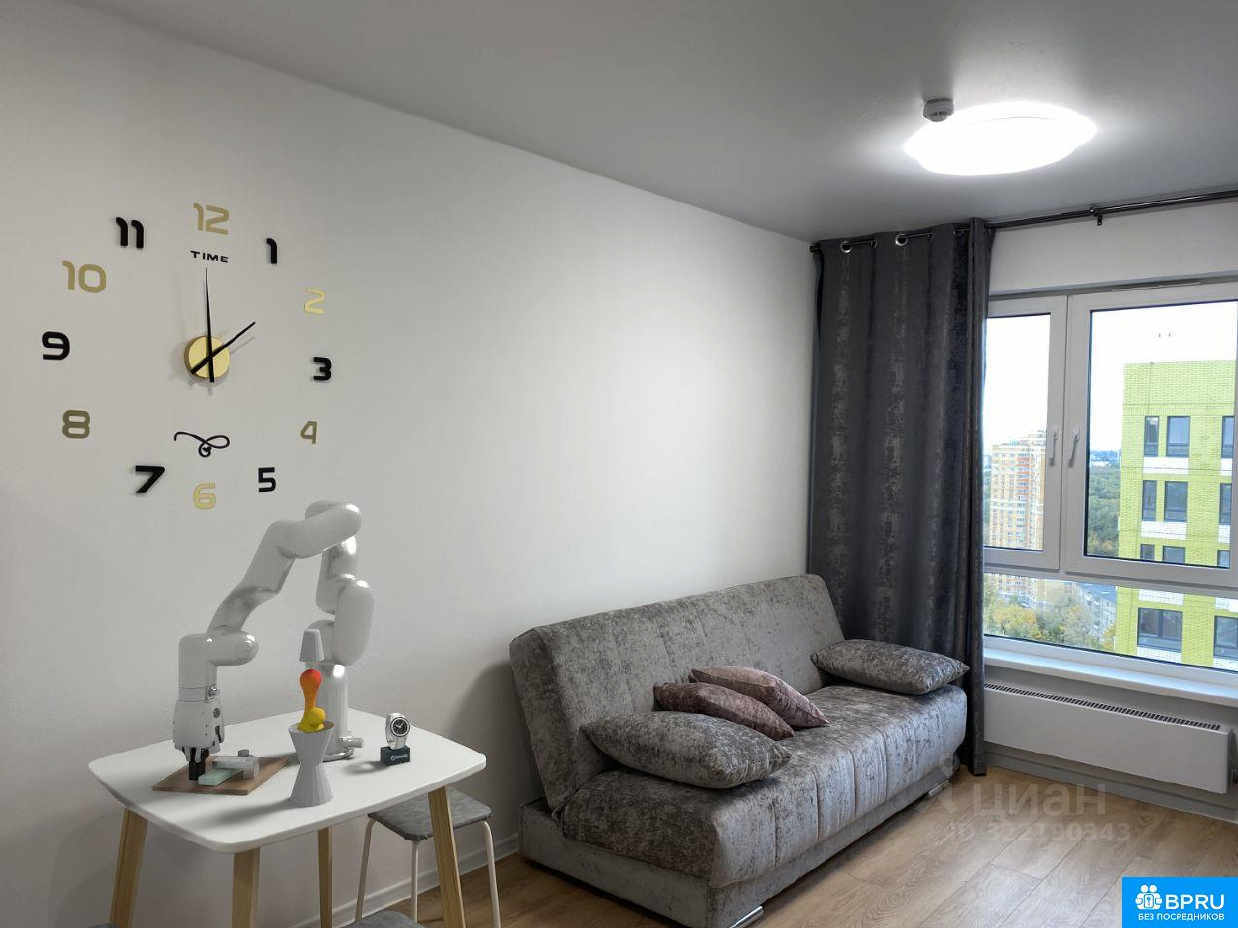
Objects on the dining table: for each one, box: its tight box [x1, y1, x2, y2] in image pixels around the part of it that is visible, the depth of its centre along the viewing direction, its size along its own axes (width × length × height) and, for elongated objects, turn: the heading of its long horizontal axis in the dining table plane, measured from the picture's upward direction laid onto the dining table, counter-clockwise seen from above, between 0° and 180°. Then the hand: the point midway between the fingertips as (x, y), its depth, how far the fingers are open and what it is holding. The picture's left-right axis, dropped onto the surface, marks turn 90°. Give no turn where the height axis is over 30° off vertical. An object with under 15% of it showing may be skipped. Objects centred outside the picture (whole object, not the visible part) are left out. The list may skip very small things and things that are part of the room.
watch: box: [379, 712, 412, 767], centre depth 213 cm, size 6×8×11 cm
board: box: [151, 748, 290, 795], centre depth 203 cm, size 21×20×4 cm
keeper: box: [212, 755, 259, 779], centre depth 200 cm, size 9×3×4 cm, turn 86°
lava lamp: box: [287, 628, 334, 808], centre depth 190 cm, size 9×9×35 cm
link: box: [199, 754, 255, 786], centre depth 201 cm, size 15×4×2 cm, turn 169°
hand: (197, 778), depth 196 cm, fingers closed
